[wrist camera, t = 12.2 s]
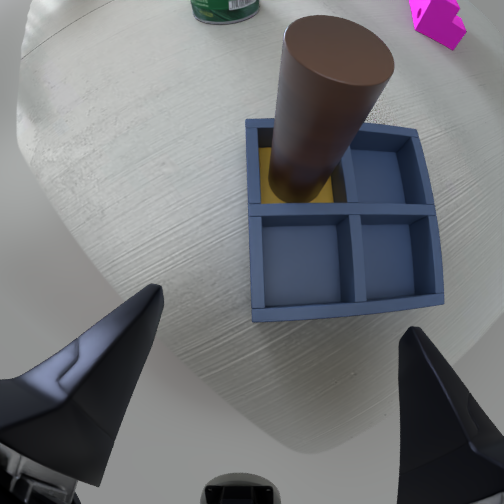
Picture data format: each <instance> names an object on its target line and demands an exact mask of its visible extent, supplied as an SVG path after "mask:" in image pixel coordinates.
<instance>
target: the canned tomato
mask: <svg viewBox="0 0 504 504" xmlns="http://www.w3.org/2000/svg"><path fill="white" fill-rule="evenodd" d="M191 4H192V9H193V15H194V17H195V18H196V19H198V20H199V21H202V22H204V23H209V24H231V23H237V22H240V21H244V20H246V19H249V18H250V17H252V16H254V15H255V14H256V13H257V12H258V10H259V7H260V6H259V0H191Z"/></svg>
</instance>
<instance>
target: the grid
mask: <svg viewBox="0 0 504 504" xmlns="http://www.w3.org/2000/svg"><path fill="white" fill-rule="evenodd" d="M274 120H275V118H265V119H246V120H245V127H246V159H247V190H248V220H249V250H250V280H251V308H252V322H253V323H254V322H278V321H296V320H311V319H325V318H337V317H348V316H358V315H368V314H377V313H386V312H394V311H402V310H409V309H416V308H423V307H430V306H436V305H443V304H444V281H443V266H442V255H441V245H440V237H439V229H438V222H437V216H436V210H435V205H434V199H433V193H432V188H431V183H430V179H429V174H428V170H427V166H426V162H425V158H424V154H423V150H422V146H421V143H420V139H419V136H418V132H417V130H416V129H411V128H404V127H398V126H390V125H382V124H374V123H363V124H362V126H361V127H360V129H359V131H358V132H357V134H356V136H355V137H354V139H353V140H352V142H351V144H350V145H349V147H348V149H347V150H346V152H345V153H344V155H343V157H342V158H341V160H340V161H339V163H338V165H337V166H336V168H335V169H334V171H333V172H332V174H331V176H330V177H329V179H328V180H327V182H326V184H325V185H324V187H323V188H322V190H321V191H320V193H319V194H318V196H317V197H316V198H315V199H314V200H312V201H310V202H309V203H286V202H284V201H282V200H280V199H279V198H278V197H277V196H276V195H275V194H274V193H273V192H272V190H271V188H270V186H269V182H268V173H269V164H270V155H271V147H272V138H273V129H274Z"/></svg>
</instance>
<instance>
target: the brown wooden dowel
mask: <svg viewBox="0 0 504 504" xmlns="http://www.w3.org/2000/svg"><path fill="white" fill-rule="evenodd" d="M393 72H394V59H393V56H392V54H391V52H390V50H389V49H388V47H387V46H386V44H385V43H384V42H383V41H382V40H381V39H380V38H379V37H378V36H376V35H375V34H374V33H373V32H371V31H370V30H368V29H366V28H365V27H363V26H361V25H359V24H357V23H355V22H352V21H349V20H346V19H343V18H339V17H334V16H326V15H314V16H307V17H303V18H300V19H298V20H296V21H294V22H292V23H291V24H290V25H289V26H288V27H287V29H286V30H285V32H284V37H283V46H282V56H281V65H280V74H279V83H278V93H277V102H276V111H275V120H274V129H273V138H272V147H271V155H270V164H269V173H268V182H269V186H270V188H271V190H272V192H273V193H274V194H275V195H276V196H277V197H278V198H279V199H280V200H282V201H284V202H286V203H309V202H310V201H312V200H314V199H315V198H316V197H317V196H318V194H319V193H320V191H321V190H322V188H323V187H324V185H325V184H326V182H327V180H328V179H329V177H330V176H331V174H332V172H333V171H334V169H335V168H336V166H337V165H338V163H339V161H340V160H341V158H342V157H343V155H344V153H345V152H346V150H347V149H348V147H349V145H350V144H351V142H352V140H353V139H354V137H355V136H356V134H357V132H358V131H359V129H360V127H361V126H362V124H363V123H364V121H365V119H366V118H367V116H368V114H369V113H370V111H371V109H372V108H373V106H374V104H375V103H376V101H377V99H378V98H379V96H380V94H381V93H382V91H383V89H384V88H385V86H386V84H387V83H388V81H389V79H390V78H391V76H392V74H393Z"/></svg>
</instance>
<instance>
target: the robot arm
mask: <svg viewBox="0 0 504 504" xmlns="http://www.w3.org/2000/svg"><path fill="white" fill-rule="evenodd" d="M163 308H164V296H163V289H162V286H160V285H157V284H152V283H151V284H149V285H147V286H146V287H145V288H143V289H142V290H140V291H139V292H138V293H136V294H135V295H134V296H132V297H131V298H129V299H128V300H127V301H125V302H124V303H123V304H121V305H120V306H119V307H117V308H116V309H115V310H113V311H112V312H111V313H109V314H108V315H107V316H105V317H104V318H103V319H101V320H100V321H99V322H97V323H96V324H95V325H93V326H92V327H91V328H90V329H88V330H87V331H86V332H84V333H83V334H81V335H80V336H79V337H78V338H76V339H75V340H73V341H72V342H71V343H70V344H68V345H67V346H66V347H64V348H63V349H62V350H60V351H59V352H57V353H56V354H54V355H53V356H51V357H50V358H48V359H47V360H45V361H43V362H42V363H40V364H39V365H37V366H35V367H34V368H32V369H31V370H29V371H27V372H26V373H24V374H22V375H20V376H18V377H15V378H12V379H2V380H0V504H81V502H80V500H79V498H78V496H77V494H76V492H75V489H76V486H77V483H78V480H79V481H82V482H85V483H88V484H90V485H94V486H96V487H99V486H100V483H101V480H102V478H103V475H104V471H105V468H106V465H107V462H108V459H109V456H110V454H111V451H112V448H113V445H114V441H115V439H116V436H117V433H118V431H119V428H120V425H121V422H122V420H123V417H124V415H125V412H126V409H127V407H128V404H129V402H130V399H131V396H132V394H133V391H134V389H135V386H136V384H137V381H138V379H139V376H140V374H141V371H142V369H143V366H144V364H145V362H146V359H147V356H148V354H149V352H150V349H151V347H152V344H153V341H154V338H155V334H156V331H157V328H158V324H159V321H160V318H161V314H162V311H163ZM398 384H399V402H400V469H399V485H398V496H397V504H504V436H503V435H502V434H501V433H500V431H499V430H498V429H497V428H496V426H495V425H494V424H493V423H492V421H491V420H490V419H489V417H488V416H487V415H486V414H485V412H484V411H483V410H482V409H481V407H480V406H479V404H478V403H477V402H476V400H475V399H474V397H473V396H472V395H471V393H469V391H468V389H467V388H466V386H465V385H464V383H463V382H462V381H461V379H460V378H459V377H458V375H457V374H456V373H455V371H454V370H453V369H452V367H451V366H450V365H449V363H448V362H447V361H446V359H445V358H444V357H443V355H442V354H441V353H440V352H439V350H438V349H437V348H436V347H435V345H434V344H433V343H432V341H431V340H430V339H429V338H428V336H427V335H426V334H425V333H424V332H423V330H422V329H421V328H420V327H414V326H411V327H409V328H408V329H407V331H406V332H405V333H404V335H403V336H402V337H401V339H400V341H399V368H398ZM208 489H211V490H208ZM267 490H269V491H267ZM204 491H205V497H206V503H207V504H274V491H273V487H272V486H216V485H207V486H206V487H205V490H204Z"/></svg>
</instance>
